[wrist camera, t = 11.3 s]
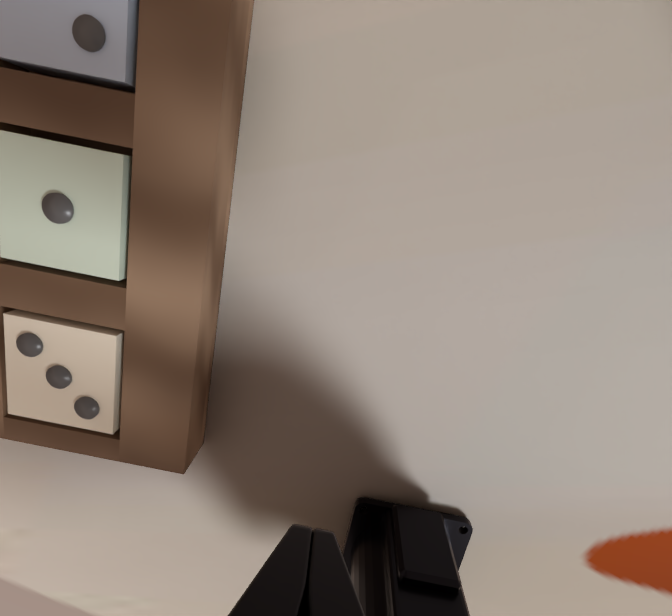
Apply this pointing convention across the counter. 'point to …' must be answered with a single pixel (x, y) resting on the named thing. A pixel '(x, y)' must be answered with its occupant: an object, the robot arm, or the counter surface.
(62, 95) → the board
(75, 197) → the tile
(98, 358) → the tile
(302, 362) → the counter surface
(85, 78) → the tile
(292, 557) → the robot arm
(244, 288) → the counter surface
